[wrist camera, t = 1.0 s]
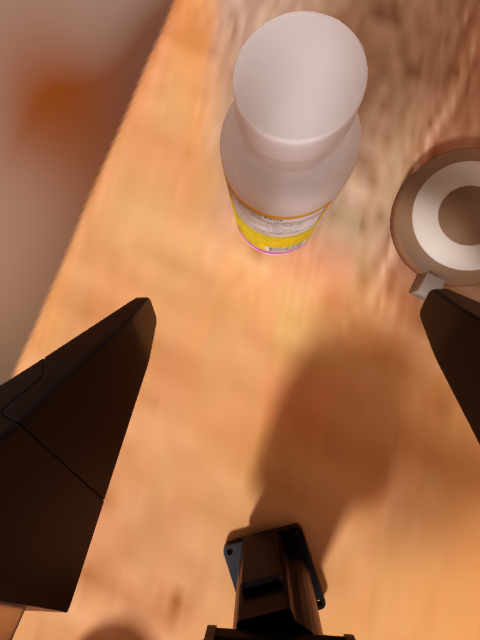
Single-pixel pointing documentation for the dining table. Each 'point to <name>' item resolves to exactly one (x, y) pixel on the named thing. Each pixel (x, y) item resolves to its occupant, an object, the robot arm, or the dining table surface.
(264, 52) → the supplement bottle
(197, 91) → the dining table surface
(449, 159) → the post base
